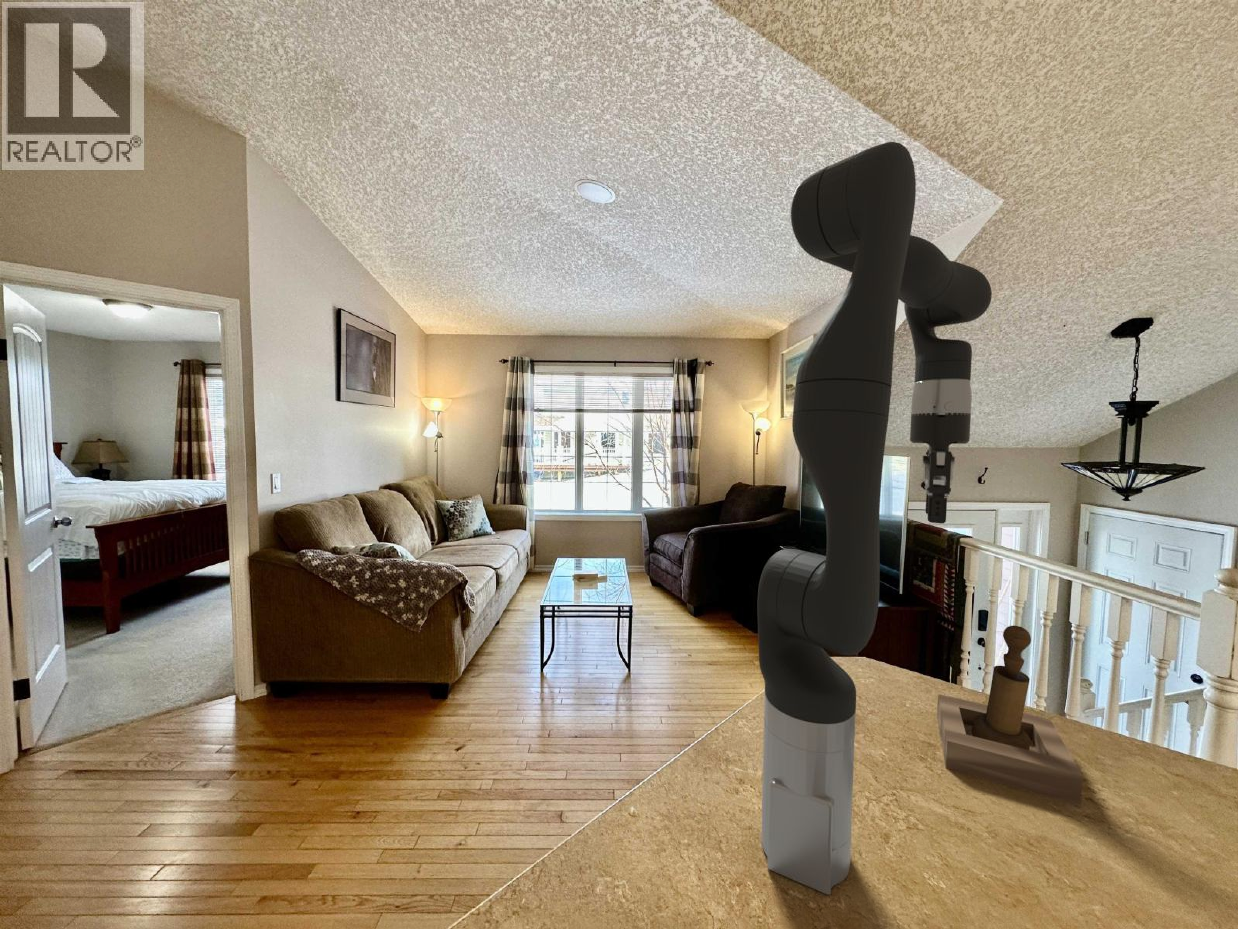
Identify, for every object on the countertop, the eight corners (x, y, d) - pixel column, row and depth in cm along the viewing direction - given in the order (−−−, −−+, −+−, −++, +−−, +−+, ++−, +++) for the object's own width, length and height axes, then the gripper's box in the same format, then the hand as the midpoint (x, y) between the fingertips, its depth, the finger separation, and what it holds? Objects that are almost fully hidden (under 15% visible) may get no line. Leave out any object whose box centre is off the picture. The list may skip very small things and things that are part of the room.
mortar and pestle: (1041, 763, 66) (1063, 641, 63) (991, 759, 66) (1011, 638, 64) (1006, 729, 73) (1024, 617, 70) (961, 726, 73) (978, 615, 70)
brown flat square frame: (1080, 810, 60) (1082, 775, 60) (945, 772, 67) (947, 740, 67) (1047, 747, 72) (1049, 718, 72) (936, 720, 79) (938, 694, 79)
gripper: (910, 414, 81) (906, 510, 81) (911, 409, 68) (906, 522, 69) (965, 414, 77) (960, 515, 78) (977, 408, 64) (970, 528, 65)
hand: (934, 518), depth 73 cm, fingers open, 8 cm apart
